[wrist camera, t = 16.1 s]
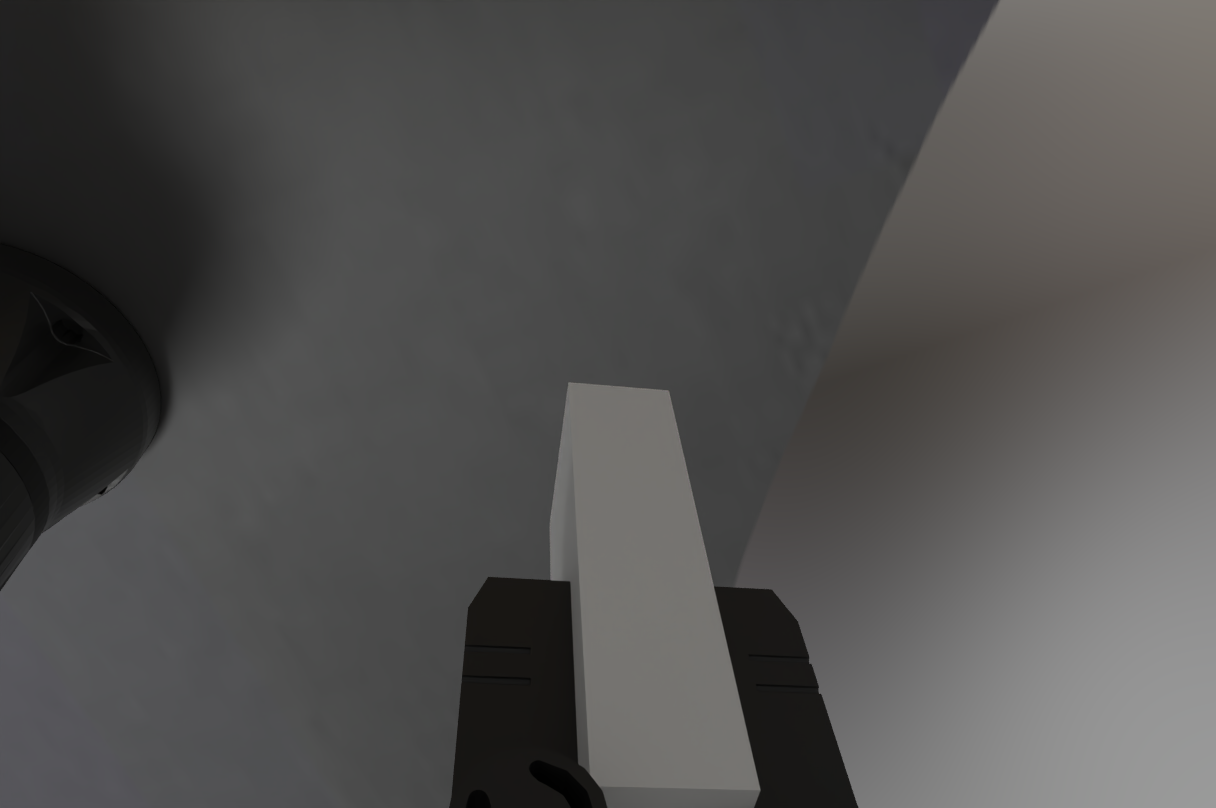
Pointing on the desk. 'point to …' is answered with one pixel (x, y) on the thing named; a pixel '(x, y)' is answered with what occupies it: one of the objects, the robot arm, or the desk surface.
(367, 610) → the desk surface
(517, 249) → the desk surface
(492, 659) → the robot arm
